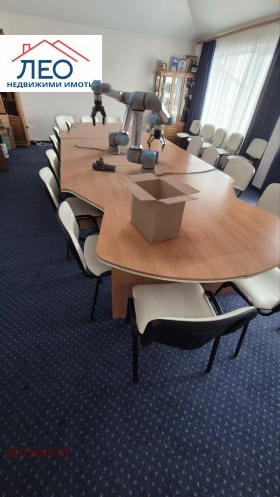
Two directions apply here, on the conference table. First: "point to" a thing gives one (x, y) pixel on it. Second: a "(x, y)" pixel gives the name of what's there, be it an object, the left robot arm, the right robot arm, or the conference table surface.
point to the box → (158, 204)
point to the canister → (156, 157)
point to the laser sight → (103, 166)
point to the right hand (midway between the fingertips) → (155, 151)
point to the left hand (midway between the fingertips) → (99, 125)
